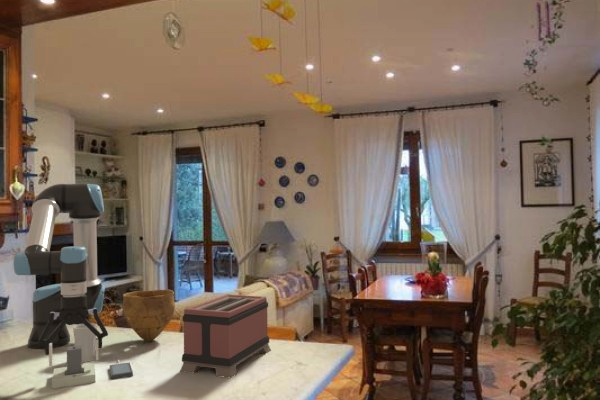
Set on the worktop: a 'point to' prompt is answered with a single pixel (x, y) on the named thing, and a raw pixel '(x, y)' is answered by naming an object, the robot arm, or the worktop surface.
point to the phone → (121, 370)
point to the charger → (74, 360)
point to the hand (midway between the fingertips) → (74, 361)
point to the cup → (85, 341)
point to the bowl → (148, 311)
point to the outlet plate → (73, 376)
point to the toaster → (224, 333)
